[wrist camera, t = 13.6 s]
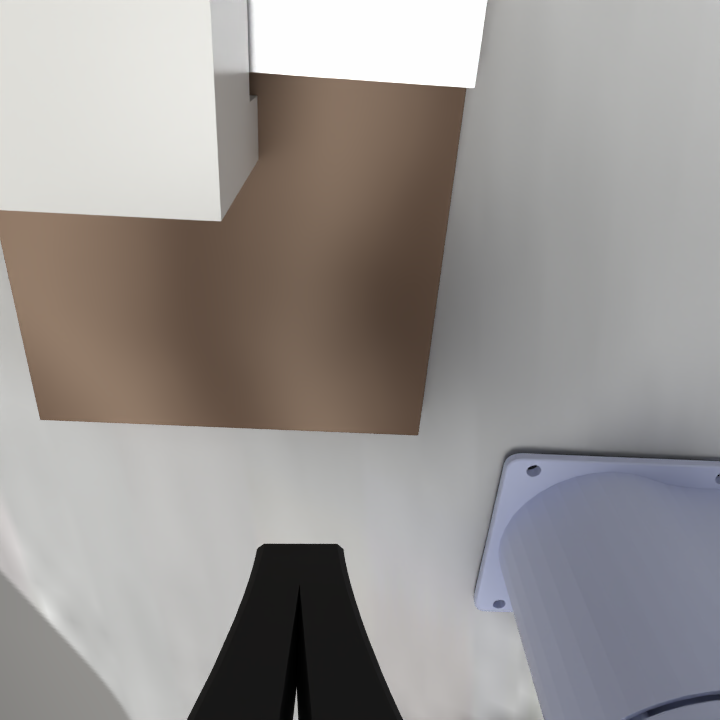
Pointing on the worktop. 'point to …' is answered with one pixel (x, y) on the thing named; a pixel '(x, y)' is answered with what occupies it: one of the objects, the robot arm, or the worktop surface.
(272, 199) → the board
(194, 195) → the block
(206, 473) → the worktop surface
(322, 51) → the rail
